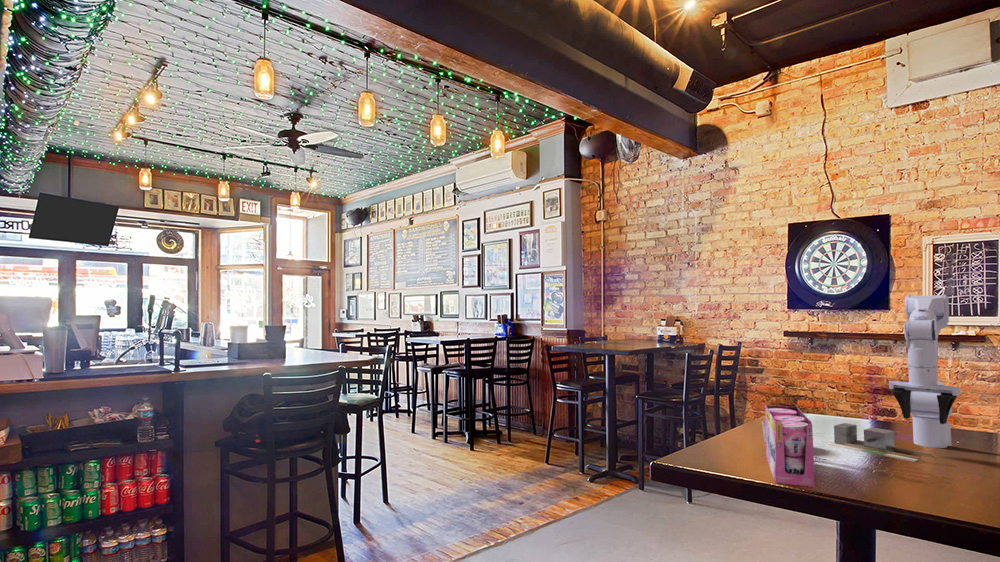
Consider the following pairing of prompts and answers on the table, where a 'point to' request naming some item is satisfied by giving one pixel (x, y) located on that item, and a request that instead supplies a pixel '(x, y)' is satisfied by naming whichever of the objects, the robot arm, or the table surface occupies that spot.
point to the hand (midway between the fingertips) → (924, 420)
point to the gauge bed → (848, 437)
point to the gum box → (789, 445)
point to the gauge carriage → (879, 439)
